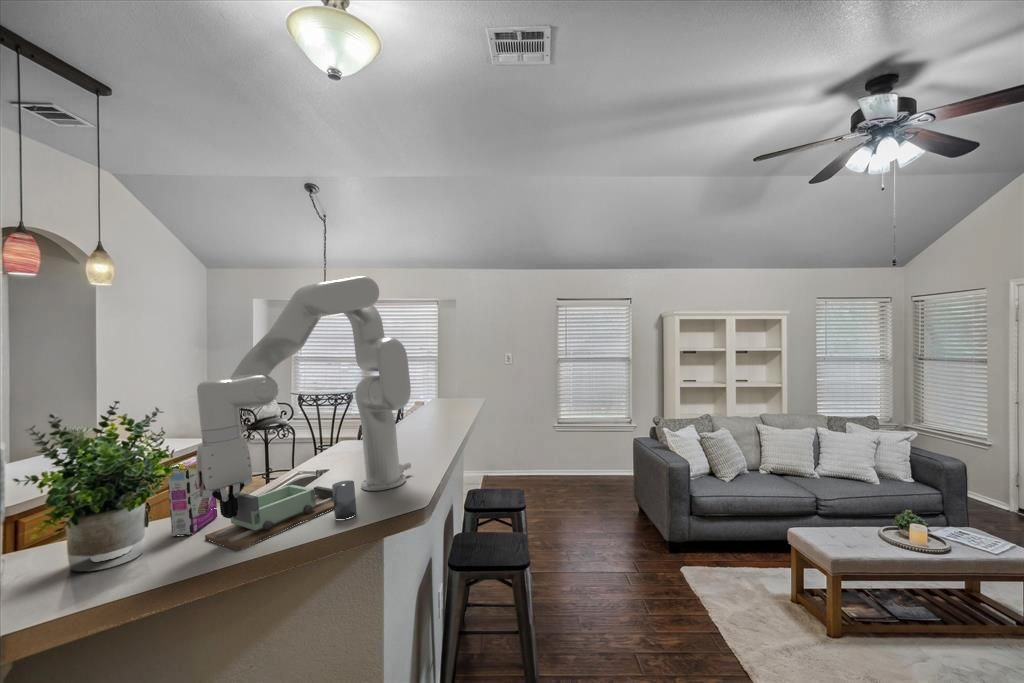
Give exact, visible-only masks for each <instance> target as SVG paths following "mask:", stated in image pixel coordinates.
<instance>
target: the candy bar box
mask: <svg viewBox="0 0 1024 683" xmlns="http://www.w3.org/2000/svg"><path fill="white" fill-rule="evenodd" d="M196 457H197V455H196V456H192V457H190V458H188V459H185V460H183V461H180V462H178V463H176V464H174V466H173V465H171V466H172V469H173V472H172V473H174V474H172V475H174V476H172V477H171V478H168V479H167V488H168V489H167V490H168V499H169V511H170V512H169V513H170V514H169V515H170V525H171V537H172V536H177V535H189V536H191V535H190V534H193V535H194V534H196V533H197V532H199V531H200V530H201V529H203V528H204V527H205V525H206V524H207V525H209V524H210V523H211V522H213V521H214V520H216V519H217V518H218V506H217V504H218V503H217V499H216V498H214V497H207V498H203V497H200V489H199V488H198V487H197V483H196ZM178 464H183V465H185V466H187V467H188V468H190V469H189V470H187V471H185V472H183V473H181V472H179V471H180V469H179V467H176V466H179V465H178ZM214 508H217V509H214ZM211 509H212V510H211ZM216 517H217V518H216ZM209 522H210V523H209ZM207 525H206V526H207ZM203 526H204V527H203ZM202 527H203V528H202ZM199 529H200V530H199ZM198 530H199V531H198ZM195 532H196V533H195Z"/></svg>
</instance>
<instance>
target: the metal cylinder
mask: <svg viewBox="0 0 1024 683" xmlns="http://www.w3.org/2000/svg"><path fill="white" fill-rule="evenodd" d="M331 489H332V490H333V501H334V510H333V511H334V519H335V518H336V519H346V518H349V517H352V516H354V515H356V514H357V515H358V512H357V500H356V491H355V490H356V487H355V481H353V480H342V481H338V482H335V483H333V484H332V486H331Z"/></svg>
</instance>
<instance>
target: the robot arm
mask: <svg viewBox="0 0 1024 683" xmlns="http://www.w3.org/2000/svg"><path fill="white" fill-rule="evenodd" d="M379 296H380V288H379V285H378V284H377V282H376V281H375V280H374V279H372V277H371V278H370V277H369V276H365V275H359V276H353V277H348V278H342V279H337V280H330V281H322V282H316V283H312V284H308V285H304V286H302V287H299V288H298V289H297V290H296V291H295V292H294V293H293V294H292V295H291V297H290V300H288V302H287V303H286V305H285V307H284V308H283V310H282V311H281V313H280V314H279V315H278V317H277V319H276V320H275V322H274V323H273V325H272V326H271V328H270V329H269V331H268V332H267V333H266V334H265V335H264V336H262V338H261V339H260V340H259V341H258V342H257V343H256V344H255V345H254V346H253V347H252V348H251V349H250V350H249V351H248V352H247V353H246V355H245V356H244V357H243V358H242V359H241V361H240V362H239V363H238V365H237V366H236V368H235V370H234V371H233V373H232V375H231V376H230V377H229V378H221V379H220V378H219V379H218V378H217V379H211V380H210V379H209V380H204V381H202V382H200V383H199V384H198V385H197V388H196V394H197V396H196V397H197V404H198V414H199V424H200V425H199V426H200V432H201V433H200V434H201V442H202V443H201V444H198V445H197V450H196V456H197V457H196V456H195V457H196V483H197V487H198V488H199V489H200V497H203V498H207V497H214V498H216V501H218V502H219V509H220V515H221V516H222V517H223V518H226V519H230V520H231V518H232V517H235V516H237V511H238V502H237V497H239V493H242V490H243V489H244V487H246V486H248V485H250V484H252V483H253V482H254V481H253V465H252V459H251V458H252V457H251V453H250V450H249V446H248V442H247V440H246V437H245V436H243V433H244V432H245V431H248V430H247V429H248V427H247V425H246V424H243V425H242V422H241V414H240V409H243V408H244V409H245V408H260V407H261V408H262V407H264V406H267V405H269V404H271V403H272V402H274V400H276V398H277V396H278V395H279V394H278V393H279V386H278V383H277V381H275V379H274V378H272V377H270V376H269V375H270V374H271V373H272V372H273V370H274V369H276V367H277V366H279V365H280V363H282V362H283V361H286V360H287V359H288V358H290V357H293V355H295V354H297V353H298V352H299V351H300V350H302V349H303V347H304V346H305V344H306V343H307V341H308V339H309V337H310V335H311V334H312V333H313V332H314V329H315V327H316V325H318V323H319V322H320V320H321V318H322V317H327V316H328V317H329V316H334V315H339V314H343V315H345V316H346V318H347V319H348V322H349V323H350V325H351V329H352V336H353V344H354V352H355V360H356V363H357V364H356V365H357V366H358V367H359V369H361V370H362V371H364V372H373V373H374V372H378V375H370V376H366V377H364V378H363V379H361V380H360V381H359V382H358V384H357V385H356V388H355V392H354V394H355V402H356V405H357V409H358V412H359V413H358V414H359V418H360V425H361V436H362V438H361V439H362V447H363V448H362V449H363V457H364V467H365V468H364V469H365V479H363V480H362V481H361V483H360V487H361V489H362V490H364V491H368V492H369V491H370V492H374V491H376V492H377V491H378V492H379V491H384V490H385V491H386V490H390V489H393V488H396V487H399V486H401V485H403V484H404V483H405V482H406V480H407V478H406V475H405V474H403V473H404V472H405V471H407V470H409V469H411V468H412V464H411V462H405V463H403V464H402V463H400V460H399V448H398V436H397V426H396V418H395V415H394V413H393V411H399V410H401V409H403V408H405V406H407V404H408V403H409V401H410V399H411V393H412V392H411V390H412V388H411V387H412V386H411V378H410V369H409V361H408V360H409V358H408V354H407V351H406V348H405V346H404V344H403V343H402V342H401V341H400V340H398V339H396V338H395V337H389V336H387V337H386V335H385V331H384V326H383V319H382V316H381V314H380V311H378V309H377V308H376V306H375V304H376V303H377V301H378V299H379Z"/></svg>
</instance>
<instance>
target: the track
mask: <svg viewBox="0 0 1024 683" xmlns="http://www.w3.org/2000/svg"><path fill="white" fill-rule="evenodd" d="M313 489H315V497H316V506H314V507H312V508H313V509H312V511H311V512H310V513H305V512H304V511H302V512H300V513H297V514H295V515H292V516H290V517H287V518H285V519H282V520H280V521H277V522H275V523H273V527H272V528H271V529H270V530H266V529H264V528H260V529H258V530H252V529H249V528H246V527H242V526H239V525H236V524H231V525H229V526H226V527H223V528H221V529H218V530H216V531H213V532H210V533H207V534H205V535H204V539H207V540H206V541H208V540H210V541H213V542H216V543H218V544H217V545H219V544H221V545H220V546H222V545H224V546H223V547H225V546H226V547H225V548H227V547H229V548H228V549H230V548H232V549H231V550H233V549H234V550H233V551H236V552H239V551H241V550H243V548H244V549H246V548H248V547H250V546H249V545H251V546H252V544H253V545H255V544H257V543H256V542H258V541H260V540H262V541H264V540H263V539H265V538H267V537H269V536H272V535H274V534H276V535H278V534H277V533H279V532H281V531H283V530H285V529H287V528H290V527H292V526H294V525H296V524H298V523H300V522H303V521H306V520H309V519H311V518H313V517H315V516H318V515H320V514H322V513H325V512H327V511H329V510H331V509H334V501H333V490H332V488H330V487H326V486H325V487H324V486H319V485H317V486H315V487H313ZM325 514H326V513H325ZM318 517H319V516H318ZM311 520H312V519H311ZM309 521H310V520H309ZM290 529H291V528H290ZM283 532H284V531H283ZM281 533H282V532H281ZM279 534H280V533H279ZM274 536H275V535H274ZM272 537H273V536H272ZM269 538H270V537H269ZM267 539H268V538H267ZM265 540H266V539H265ZM210 541H209V542H210ZM213 542H212V543H213ZM260 542H261V541H260ZM216 543H215V544H216ZM254 543H255V544H254ZM258 543H259V542H258ZM247 546H248V547H247ZM245 547H246V548H245Z"/></svg>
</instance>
